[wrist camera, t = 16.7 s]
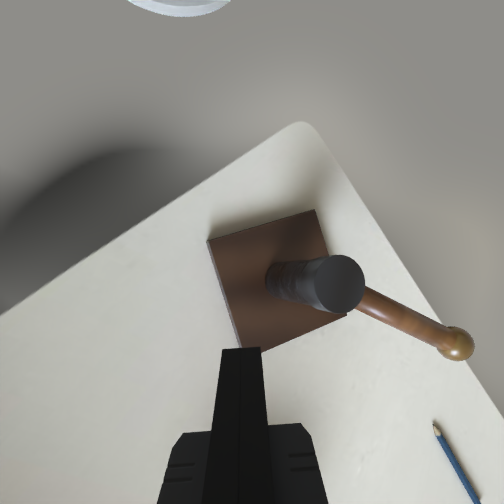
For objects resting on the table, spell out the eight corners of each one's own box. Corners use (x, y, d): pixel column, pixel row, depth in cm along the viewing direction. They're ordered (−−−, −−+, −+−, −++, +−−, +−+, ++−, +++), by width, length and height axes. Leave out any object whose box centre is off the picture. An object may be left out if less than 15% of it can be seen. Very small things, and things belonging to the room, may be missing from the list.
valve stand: (206, 242, 36) (227, 229, 26) (309, 211, 41) (363, 189, 30) (242, 356, 37) (277, 389, 26) (340, 314, 41) (404, 328, 31)
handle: (290, 297, 27) (307, 300, 24) (310, 247, 28) (329, 244, 25) (444, 368, 32) (475, 378, 29) (457, 323, 33) (488, 328, 30)
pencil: (474, 506, 46) (427, 424, 44) (478, 501, 46) (432, 420, 45) (480, 511, 45) (433, 427, 43) (484, 506, 45) (437, 422, 44)
